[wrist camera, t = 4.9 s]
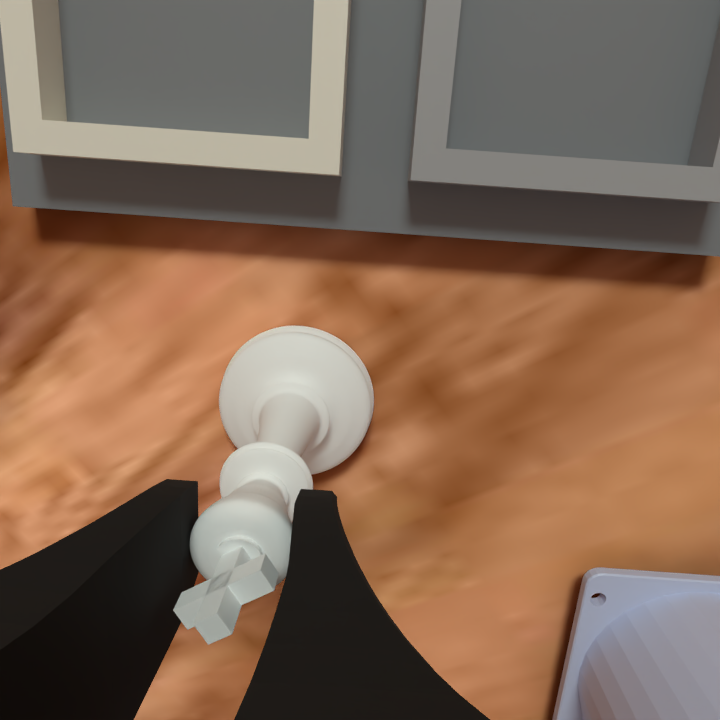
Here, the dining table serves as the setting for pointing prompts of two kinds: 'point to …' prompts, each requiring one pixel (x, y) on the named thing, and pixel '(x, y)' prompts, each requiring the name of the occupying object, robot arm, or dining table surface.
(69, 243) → the dining table surface
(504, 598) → the dining table surface
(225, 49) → the socket board
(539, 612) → the dining table surface
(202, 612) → the chess piece
